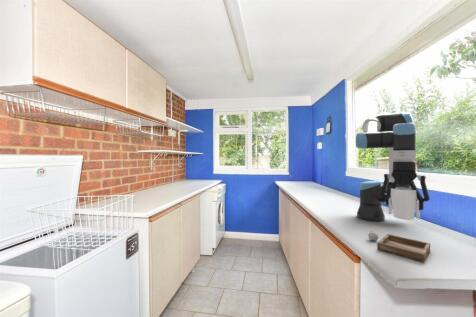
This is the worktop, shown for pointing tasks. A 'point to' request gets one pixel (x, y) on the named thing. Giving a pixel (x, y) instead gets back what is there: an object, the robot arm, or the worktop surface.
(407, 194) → the cup
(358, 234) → the worktop surface
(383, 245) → the tray
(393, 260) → the worktop surface
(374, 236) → the ball
